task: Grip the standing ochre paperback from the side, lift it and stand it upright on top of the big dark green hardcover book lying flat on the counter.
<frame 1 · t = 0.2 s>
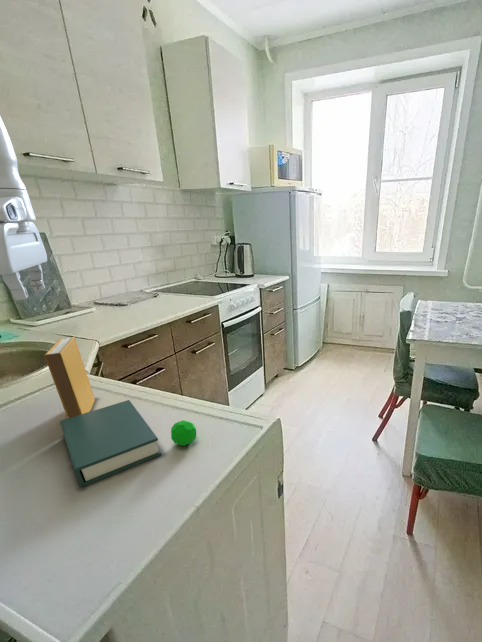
hand: (31, 294, 65), 30 cm above the countertop, tool pointing down, fingers open, 8 cm apart
hardcover: (111, 445, 72), on the countertop
polyhedron: (185, 443, 71), on the countertop
paperback: (83, 411, 85), on the countertop
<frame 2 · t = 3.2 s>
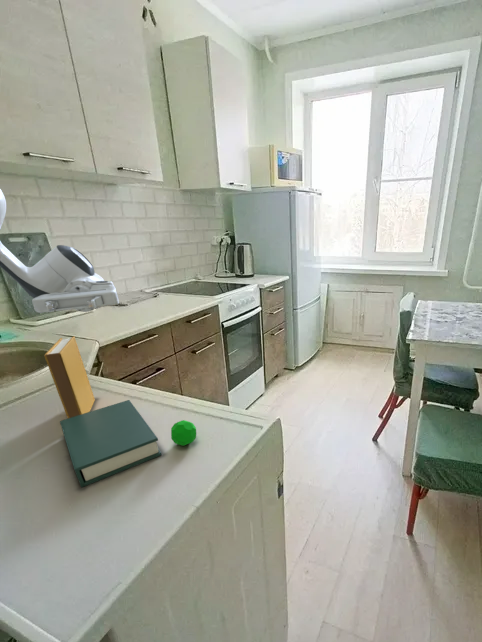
hand: (70, 306, 88), 22 cm above the countertop, tool horizontal, fingers open, 8 cm apart
nothing on the countertop moved.
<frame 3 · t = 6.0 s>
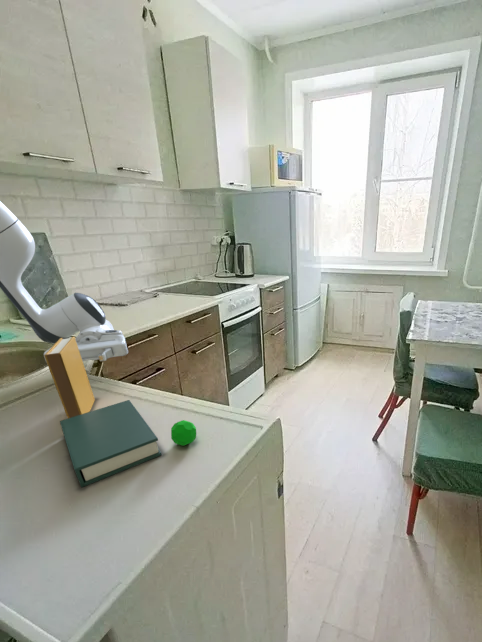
hand: (82, 360, 91), 9 cm above the countertop, tool horizontal, fingers open, 8 cm apart
nothing on the countertop moved.
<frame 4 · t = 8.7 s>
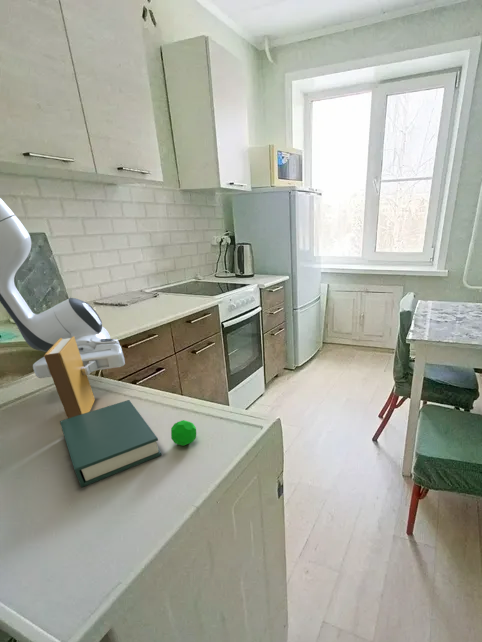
hand: (74, 373, 83), 9 cm above the countertop, tool horizontal, fingers closed on paperback, 3 cm apart
paperback: (83, 411, 85), on the countertop, touching gripper
everything else where it was.
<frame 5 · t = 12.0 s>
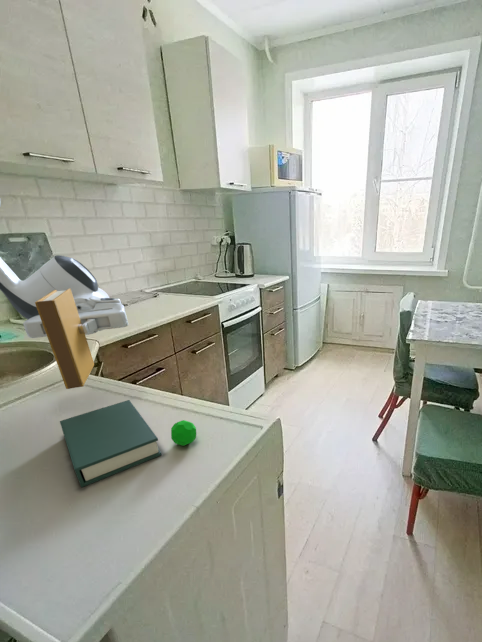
hand: (71, 331, 73), 21 cm above the countertop, tool horizontal, fingers closed on paperback, 3 cm apart
paperback: (81, 375, 74), point 12 cm above the countertop, touching gripper
everything else where it was.
when the fingers open (13 cm above the countertop, at t = 15.6 s): paperback stays where it is, resting on hardcover.
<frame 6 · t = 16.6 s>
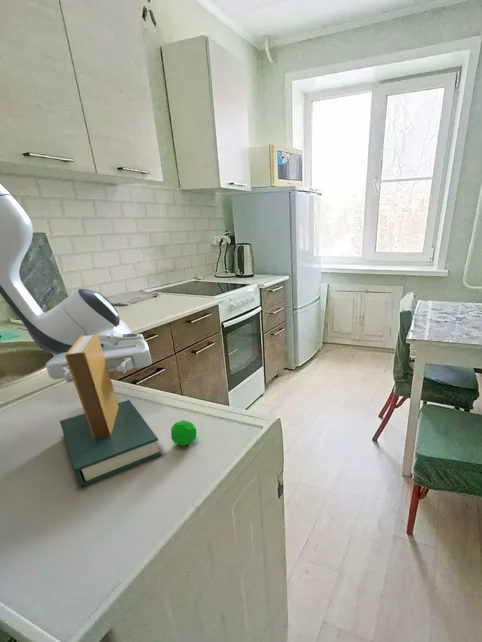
hand: (95, 374, 70), 14 cm above the countertop, tool horizontal, fingers open, 8 cm apart
hardcover: (111, 445, 72), on the countertop, touching paperback
paperback: (107, 421, 72), point 4 cm above the countertop, touching hardcover
everything else where it was.
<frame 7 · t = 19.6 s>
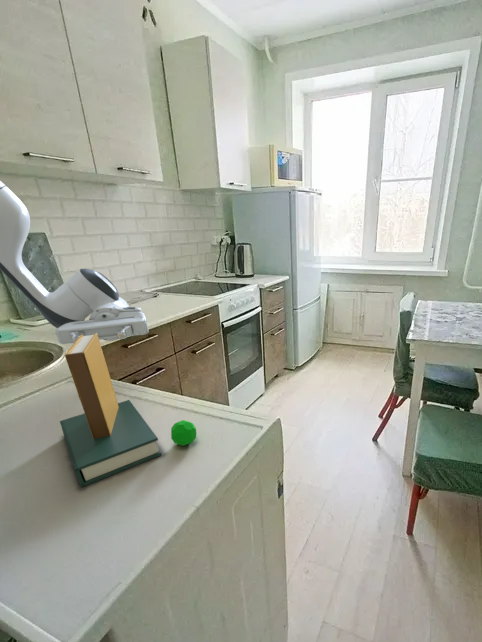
hand: (99, 338, 80), 17 cm above the countertop, tool horizontal, fingers open, 8 cm apart
nothing on the countertop moved.
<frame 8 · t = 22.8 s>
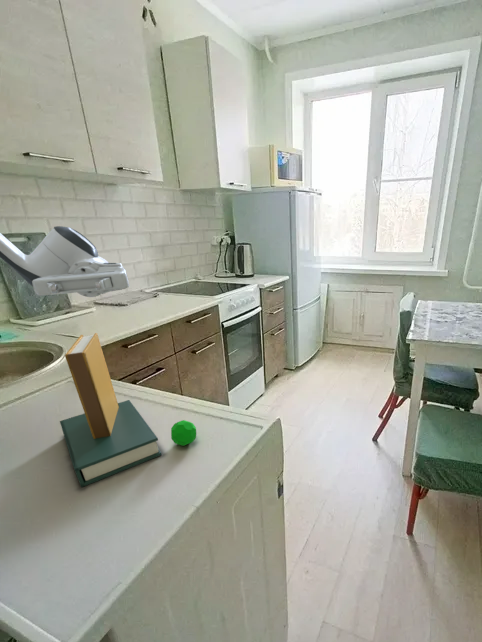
hand: (76, 287, 78), 28 cm above the countertop, tool horizontal, fingers open, 8 cm apart
nothing on the countertop moved.
at the end: paperback inside the target area on the hardcover (2.9 cm from its centre), point 4.0 cm above the hardcover's base; paperback tilted 0°; the gripper is holding nothing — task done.
